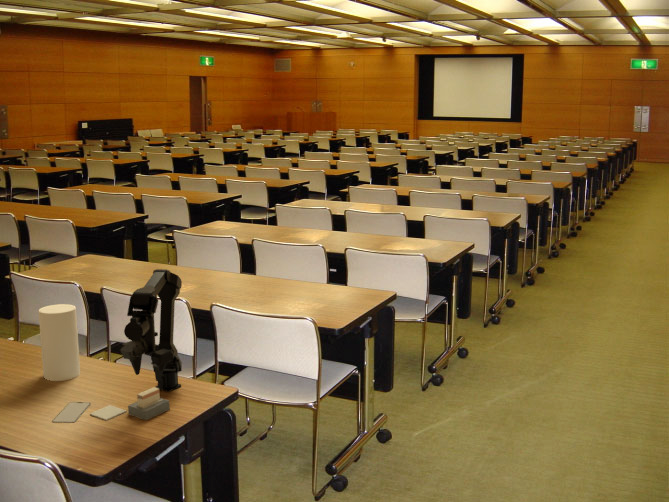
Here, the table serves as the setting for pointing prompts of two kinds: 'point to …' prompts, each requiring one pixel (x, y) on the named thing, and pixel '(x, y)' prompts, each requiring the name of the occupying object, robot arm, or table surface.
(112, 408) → the mat
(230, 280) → the table surface
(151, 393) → the cream rectangular block
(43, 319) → the cylinder
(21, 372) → the table surface
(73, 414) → the smartphone
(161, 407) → the dispenser
